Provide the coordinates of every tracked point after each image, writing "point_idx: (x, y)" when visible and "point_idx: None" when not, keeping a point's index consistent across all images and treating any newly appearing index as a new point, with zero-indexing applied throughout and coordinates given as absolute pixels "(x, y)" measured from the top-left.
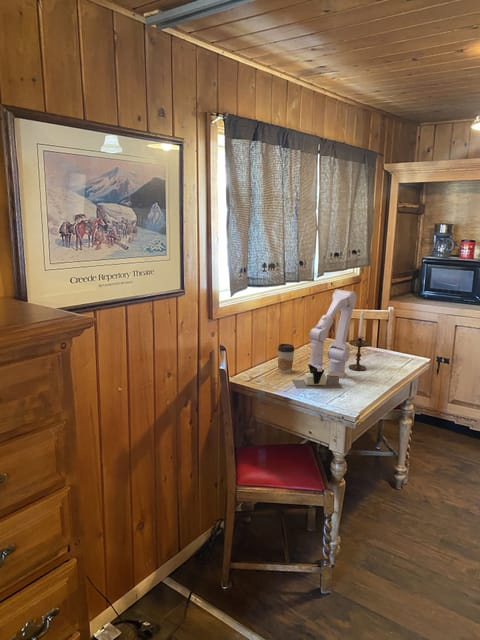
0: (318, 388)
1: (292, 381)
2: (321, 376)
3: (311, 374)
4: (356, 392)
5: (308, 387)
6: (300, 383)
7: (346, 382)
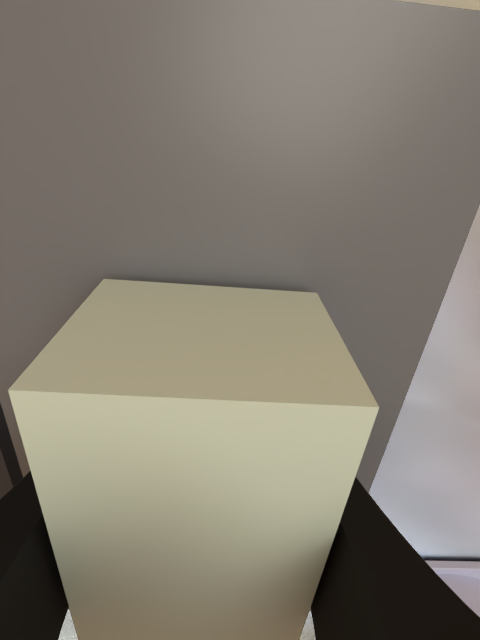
0: (4, 412)
1: (411, 5)
2: (85, 633)
3: (221, 523)
4: (70, 628)
5: (16, 279)
6: (242, 184)
7: (305, 624)
